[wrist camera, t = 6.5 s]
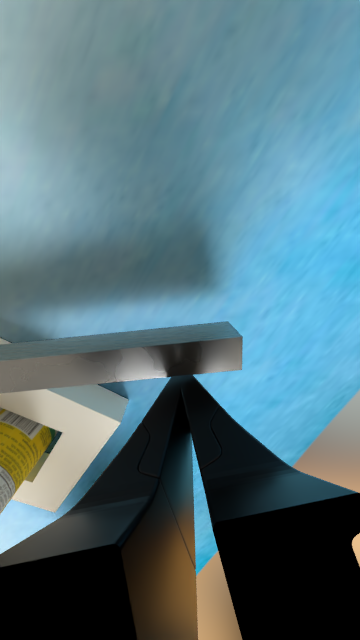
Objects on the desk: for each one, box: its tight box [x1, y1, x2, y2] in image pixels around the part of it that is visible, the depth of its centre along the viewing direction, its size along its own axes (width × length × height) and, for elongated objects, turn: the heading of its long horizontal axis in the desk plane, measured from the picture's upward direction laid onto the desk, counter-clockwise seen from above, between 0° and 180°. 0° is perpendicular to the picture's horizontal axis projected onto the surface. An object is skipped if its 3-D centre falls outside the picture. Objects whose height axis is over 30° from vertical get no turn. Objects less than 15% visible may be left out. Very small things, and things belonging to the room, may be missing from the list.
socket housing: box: [0, 338, 129, 512], centre depth 12 cm, size 12×12×2 cm
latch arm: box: [0, 321, 242, 394], centre depth 8 cm, size 19×2×2 cm, turn 96°
